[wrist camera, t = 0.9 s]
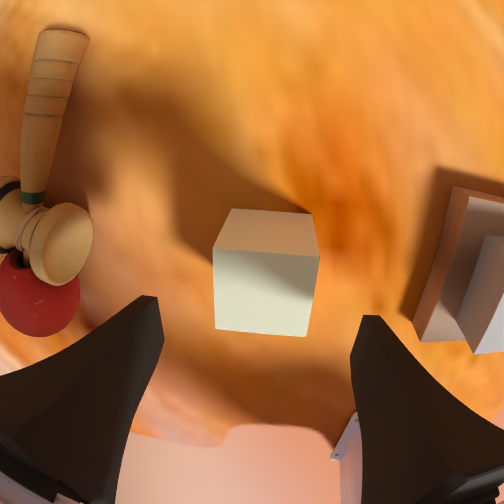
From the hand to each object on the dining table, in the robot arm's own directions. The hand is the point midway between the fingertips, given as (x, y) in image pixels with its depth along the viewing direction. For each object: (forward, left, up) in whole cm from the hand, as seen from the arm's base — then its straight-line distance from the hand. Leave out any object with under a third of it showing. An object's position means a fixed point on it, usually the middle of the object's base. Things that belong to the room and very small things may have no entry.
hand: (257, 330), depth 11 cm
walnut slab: (0, -14, -7) cm, 16 cm away
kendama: (+3, +13, -7) cm, 15 cm away
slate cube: (0, -14, -5) cm, 15 cm away
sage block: (0, 0, -7) cm, 7 cm away
